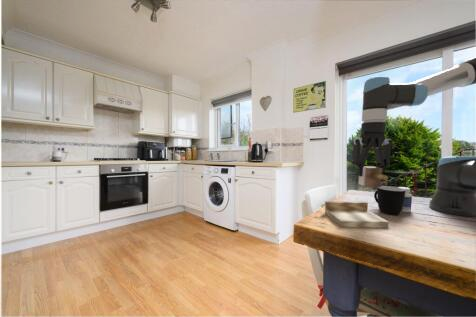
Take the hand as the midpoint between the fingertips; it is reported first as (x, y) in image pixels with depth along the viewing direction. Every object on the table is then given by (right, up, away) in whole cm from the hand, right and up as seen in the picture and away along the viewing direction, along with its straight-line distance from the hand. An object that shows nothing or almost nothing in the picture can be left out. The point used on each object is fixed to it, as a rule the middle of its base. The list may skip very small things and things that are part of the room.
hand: (369, 184), depth 75 cm
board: (-6, -13, -1) cm, 14 cm away
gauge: (0, -1, -3) cm, 3 cm away
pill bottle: (+21, -12, +11) cm, 27 cm away
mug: (+13, -12, +9) cm, 20 cm away
